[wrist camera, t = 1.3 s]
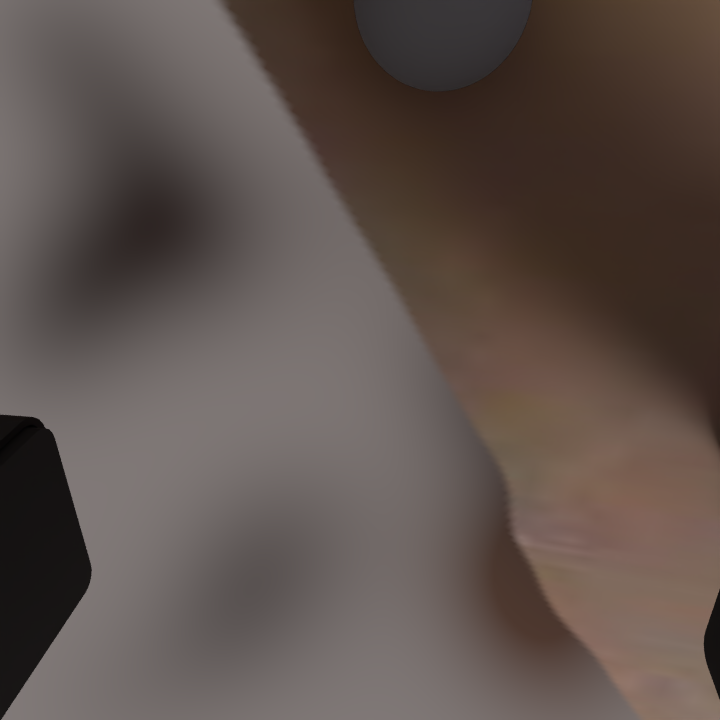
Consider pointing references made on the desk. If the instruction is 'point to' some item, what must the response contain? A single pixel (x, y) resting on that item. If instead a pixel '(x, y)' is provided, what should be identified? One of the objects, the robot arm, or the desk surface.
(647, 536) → the desk surface
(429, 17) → the grey ball
